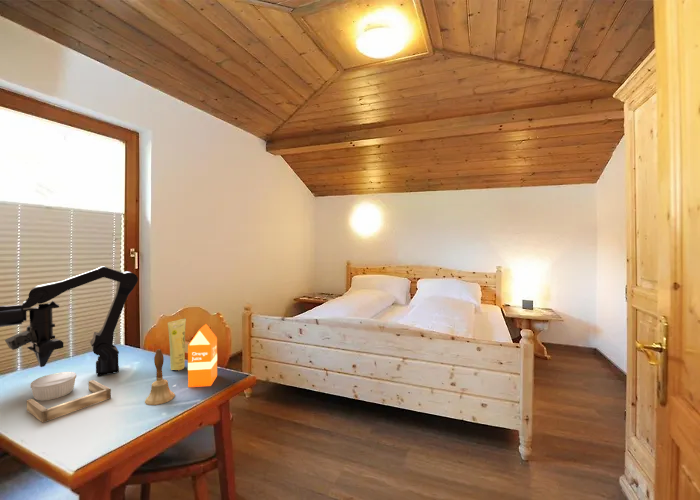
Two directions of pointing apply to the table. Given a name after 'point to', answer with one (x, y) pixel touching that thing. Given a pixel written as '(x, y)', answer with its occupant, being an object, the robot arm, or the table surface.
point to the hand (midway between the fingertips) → (42, 366)
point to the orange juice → (202, 358)
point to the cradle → (70, 403)
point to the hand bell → (159, 384)
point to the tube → (177, 343)
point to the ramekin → (53, 385)
